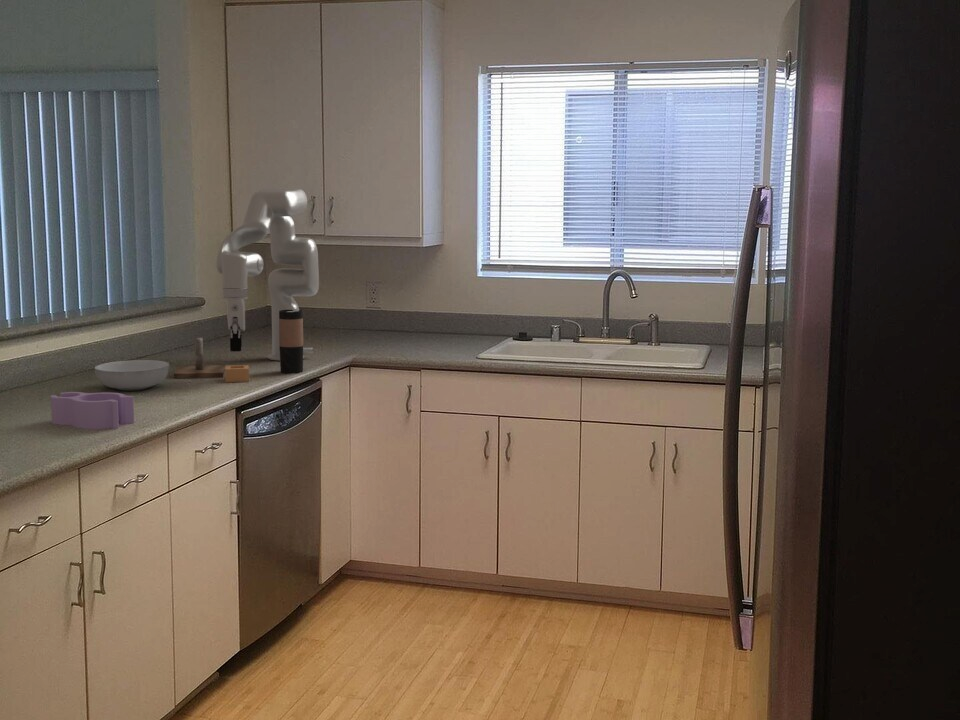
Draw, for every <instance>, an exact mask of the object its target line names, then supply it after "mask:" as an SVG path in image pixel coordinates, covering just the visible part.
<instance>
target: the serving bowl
mask: <svg viewBox="0 0 960 720" xmlns="http://www.w3.org/2000/svg"><path fill="white" fill-rule="evenodd" d="M169 369H170V363H169V362H167V361H164V360H163V361H162V360H155V359H154V360H153V359H132V360H131V359H130V360H118V361H111V362H106V363H101V364H98V365H95V366H94V373H95V375H96V378H97V380H98V381H99V382H100V383H101V384H102V385H104V386H106V387H108V388H111V389H117V390H119V391H140V390H141V391H142V390H147V389H148V388H151V387H153V386H156V385H159V384H160V383H162V382H163V381H164V380H165V379H166V378H167V376H168V373H169Z"/></svg>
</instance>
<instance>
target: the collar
mask: <svg viewBox="0 0 960 720" xmlns="http://www.w3.org/2000/svg"><path fill="white" fill-rule="evenodd" d="M224 373H225V383H240V382H241V383H243V382H245V383H246V382H250V365H249V364H247V365H246V364H245V365H243V364H242V365H238V364H237V365H225V370H224Z"/></svg>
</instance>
